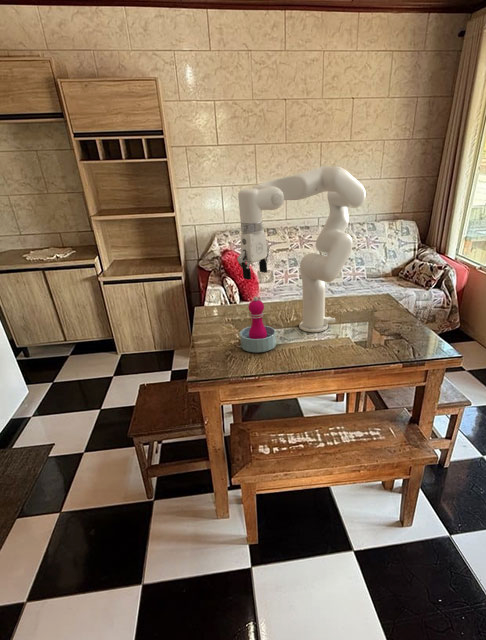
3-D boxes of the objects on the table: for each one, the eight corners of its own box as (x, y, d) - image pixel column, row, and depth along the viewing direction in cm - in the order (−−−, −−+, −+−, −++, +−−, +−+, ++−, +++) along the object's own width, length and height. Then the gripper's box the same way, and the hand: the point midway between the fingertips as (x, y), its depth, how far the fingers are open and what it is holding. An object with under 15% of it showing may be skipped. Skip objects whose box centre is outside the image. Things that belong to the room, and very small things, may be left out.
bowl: (273, 337, 171) (272, 323, 168) (278, 351, 159) (278, 337, 156) (239, 340, 169) (238, 327, 166) (242, 355, 157) (241, 341, 154)
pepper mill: (265, 348, 160) (262, 300, 150) (247, 347, 161) (243, 299, 152) (269, 341, 166) (266, 293, 156) (252, 340, 168) (248, 293, 158)
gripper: (244, 232, 135) (248, 283, 143) (274, 223, 147) (277, 270, 155) (227, 231, 139) (232, 280, 147) (258, 222, 151) (261, 268, 159)
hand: (255, 275), depth 151 cm, fingers open, 9 cm apart
